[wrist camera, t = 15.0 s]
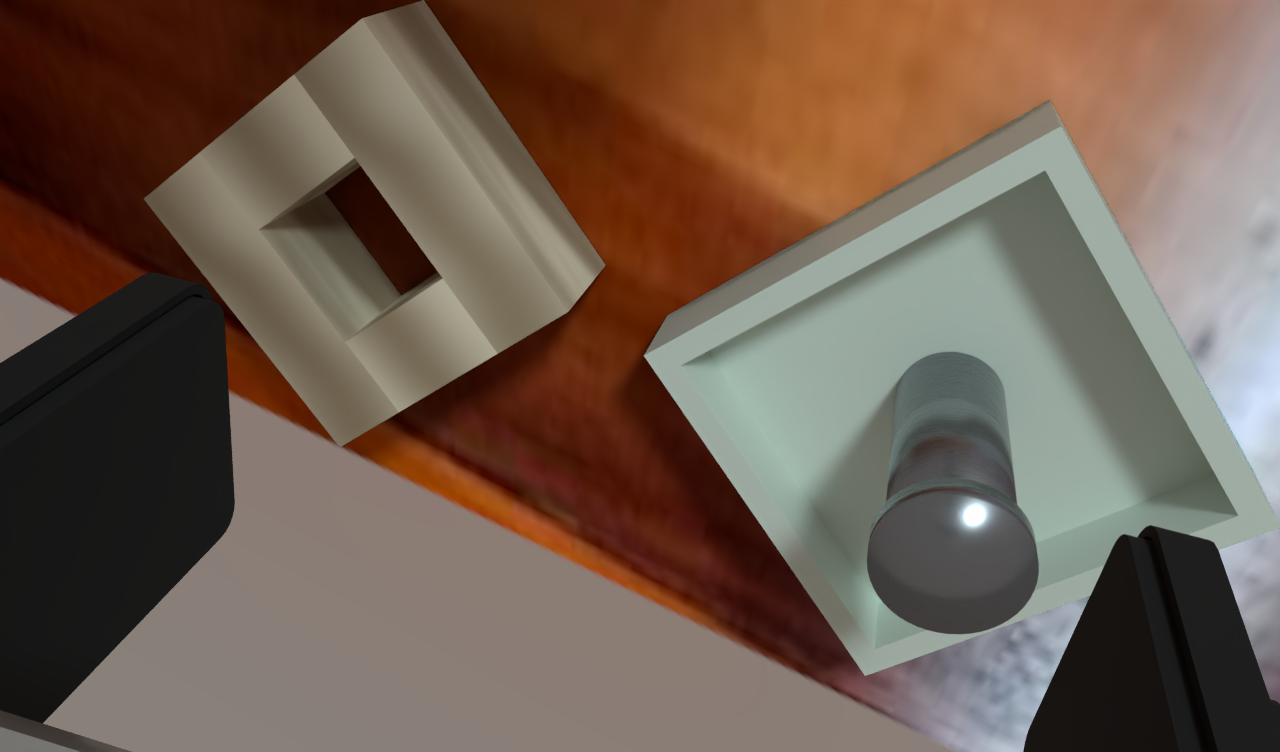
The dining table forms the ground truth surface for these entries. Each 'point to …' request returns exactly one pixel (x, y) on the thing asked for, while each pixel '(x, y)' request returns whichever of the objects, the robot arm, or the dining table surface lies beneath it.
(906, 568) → the steel pin
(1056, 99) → the dining table surface
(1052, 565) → the tray
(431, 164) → the pin block
